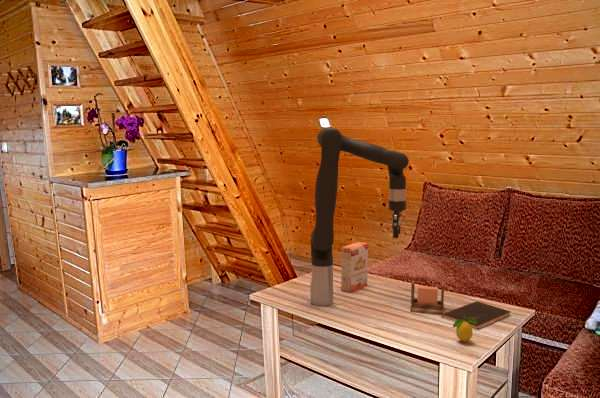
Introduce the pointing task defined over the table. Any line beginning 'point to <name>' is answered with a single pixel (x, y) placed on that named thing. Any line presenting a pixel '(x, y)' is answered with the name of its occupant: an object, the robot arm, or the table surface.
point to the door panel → (427, 295)
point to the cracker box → (354, 266)
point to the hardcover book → (477, 313)
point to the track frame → (427, 307)
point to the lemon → (464, 328)
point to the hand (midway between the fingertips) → (396, 235)
